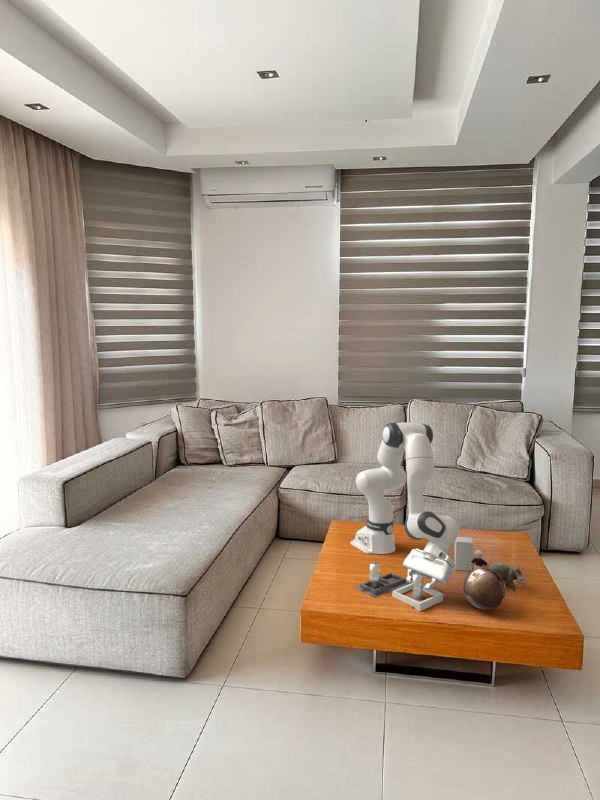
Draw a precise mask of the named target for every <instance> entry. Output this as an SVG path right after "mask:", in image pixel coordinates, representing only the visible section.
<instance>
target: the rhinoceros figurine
mask: <svg viewBox="0 0 600 800" xmlns="http://www.w3.org/2000/svg"><path fill="white" fill-rule="evenodd" d="M488 567H489V569H492V570H494V571H495V572H497V573H498V574H499V575H500V576H501V578H502V579H503V581H504V583H505V584H507V585H509V586H510V587H512V591H513V592H516V586H515V582H514V581H517V582H518V584H520V585H521V586H523V585H525V584H527V582H528V581H527V580H526V578H525V577H524V574H523V572H525V571H526V569H523V572H522V571H521V569H520V567H519V566H517V565H516V566H513V565H508V564H505V563H503V562H493V563H492V564H490V565H488Z"/></svg>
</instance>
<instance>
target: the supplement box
mask: <svg viewBox="0 0 600 800" xmlns="http://www.w3.org/2000/svg"><path fill="white" fill-rule="evenodd" d="M473 554H474V540H473V538H472V537H470V536H457V538H456V540H455V542H454V560H453V562H454V563H455V567H454V570H457V571H467V572H468V571H469V572H471V571H473V567H474V563H473V564H472V566H470V564H471V561H472V560H473V559H474V558H473V557H474V555H473Z"/></svg>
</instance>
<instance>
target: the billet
mask: <svg viewBox="0 0 600 800" xmlns="http://www.w3.org/2000/svg"><path fill="white" fill-rule="evenodd" d="M412 579H413V580H412V582H413V583H412V590H411V591H412V592H411V593H412V597H411V599H413V600H416V601H418V600H419V601H420V600H421V601H422V600H423V599H424V598H423V597H424V591H423V585H424V576H423V574H421V573H415V572H414V573H413V574H412Z"/></svg>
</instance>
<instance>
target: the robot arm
mask: <svg viewBox="0 0 600 800" xmlns="http://www.w3.org/2000/svg"><path fill="white" fill-rule="evenodd" d="M381 437H382V440H381V443H380V444H379V448H378V451H377V454H376V455H377V456H376V457H377V462H378V463H379V464H380V465H381V466H380V467H377V468H376V467H375V468H369V469H365V470H362V471H360V472H359V473H357V475H356V478H355V485H356V488H357V489H358V491H359V492H361V493H362V494H363V495H364V496H365V497H366V500H367V504H368V518H366V519H365V520H364V523H366V524H365V525H364V526H363V527H361V528H360V529H359V530H357V532H355V538H354V539H352V540H350V544H349V545H351V546H353V547H355V548H356V549H358V550H360V551H361V552H363V553H365V554H367V555H368V554H369V555H370V554H374V555H375V554H376V555H377V554H378V555H386V554H387V555H388V554H392V553H394V552H396V550H397V549H396V543H395V538H394V528H395V527H394V524H395V523H394V517H393V515H394V514H393V513H394V507H393V503H392V502H391V500H390V499H387V498H385V496H384V492H387V491H388V492H389V491H395V490H399V489H400V488H402V487H404V486H405V484H406V483H407V485H406V486H407V487H406V496H407V497H406V498H407V501H406V502H407V505H406V506H407V514H406V518H405V522H404V532H405V533H406V535H407V536H408V537H409V538H410V539H412V540H414V541H421V540H423V539H427V540H428V541H427V543H426V545H425V547H424V549H420V548H413V549H411V550H410V553H409V554H407V556H406V557H405V558H404V561H403V563H402V564H403V567H404V568H405V569H406V570H407V577H405V579H406V580H407V581H408V582H410V583H411V582H413V573H421V574H423V577H424V578H428V579H430V580H431V582H429V583H426V585H424V586H425V588H426V589H427V590H429V591H430V590H431V589H433V587H435V586H437V584H438V583H440V584H443V585H446V584H448V583H449V581H450V579H451V578H452V575H453V572H454V569H455V563H454V560H453V559H452V558H451V557H450V556H449V553H450V549H451V548H452V547H453V545H455V540H456V538H457V537H459V533H460V524H459V522H458V521H457V520H456V519H455V518H454V517H452V516H450V515H440V514H436V513H434V512H432V511H424V496H423V495H424V490H425V487H426V486H427V484H428V483H429V481H430V480H431V479H432V477H433V475H434V470H435V469H434V468H435V465H434V456H433V455H434V453H433V451H432V450H433V449H432V446H431V444H432V443H433V440H434V432H433V429H432V427H431V426H430V425H428V424H427V423H422V422H421V423H417V422H409V421H407V422H388V423H386V424H385V425H384V427H383V429H382V433H381ZM404 453H405V467H406V471H405V470H404V469H403V468H402V467H401V465H402V464H401V463H402V460H403V457H404Z"/></svg>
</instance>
